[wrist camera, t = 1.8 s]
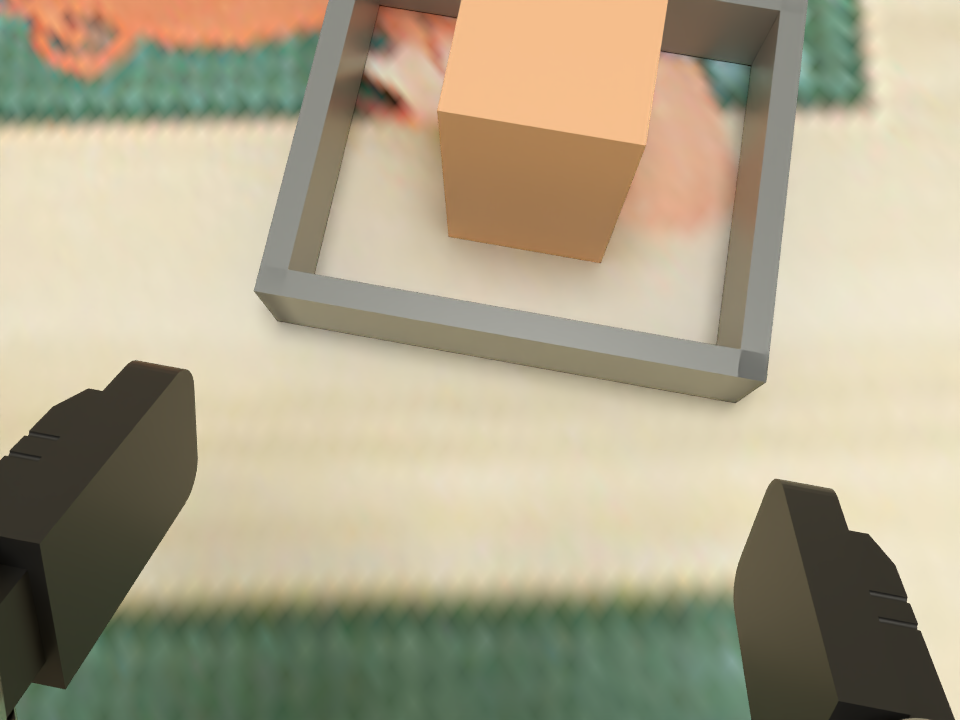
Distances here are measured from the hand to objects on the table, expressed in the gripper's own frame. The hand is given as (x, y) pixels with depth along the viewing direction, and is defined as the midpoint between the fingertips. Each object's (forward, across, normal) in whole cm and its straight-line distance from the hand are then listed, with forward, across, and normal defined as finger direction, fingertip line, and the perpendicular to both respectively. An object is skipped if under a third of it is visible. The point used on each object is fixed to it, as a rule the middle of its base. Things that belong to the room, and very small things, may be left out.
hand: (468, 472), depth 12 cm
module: (+19, 0, +2) cm, 19 cm away
